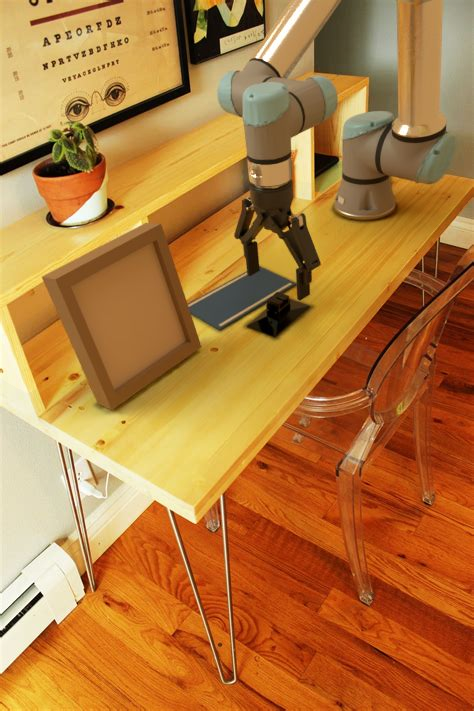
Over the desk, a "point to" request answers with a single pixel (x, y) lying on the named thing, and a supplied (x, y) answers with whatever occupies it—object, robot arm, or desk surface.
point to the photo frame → (124, 313)
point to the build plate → (278, 315)
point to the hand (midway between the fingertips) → (277, 284)
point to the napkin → (238, 297)
